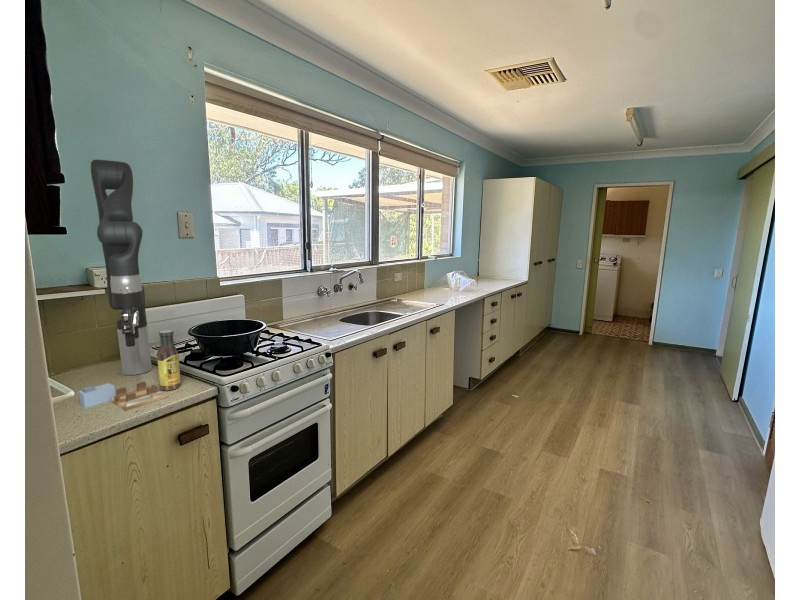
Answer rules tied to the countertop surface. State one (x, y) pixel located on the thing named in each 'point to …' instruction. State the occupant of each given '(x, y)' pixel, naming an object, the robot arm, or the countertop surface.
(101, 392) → the light blue block
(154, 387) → the jig
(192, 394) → the countertop surface
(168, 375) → the sauce bottle
